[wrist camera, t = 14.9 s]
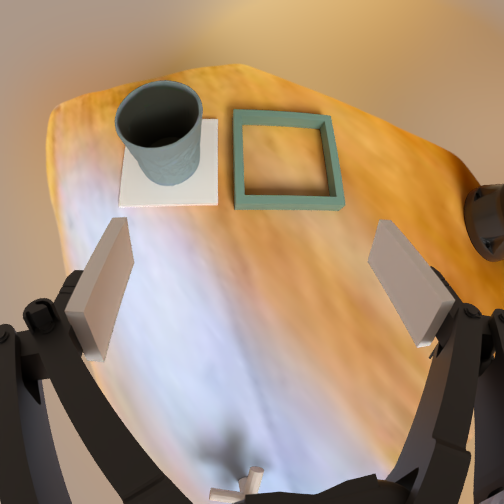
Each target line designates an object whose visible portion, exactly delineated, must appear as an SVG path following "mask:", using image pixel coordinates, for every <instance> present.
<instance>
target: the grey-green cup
mask: <svg viewBox="0 0 504 504" xmlns="http://www.w3.org/2000/svg"><path fill="white" fill-rule="evenodd" d="M202 114H203V107H202V102H201V100H200V98H199V96H198V95H197V93H196V92H195V91H194V90H193V89H191V88H190V87H189V86H187V85H184V84H182V83H179V82H175V81H166V80H164V81H155V82H151V83H148V84H145V85H142V86H140V87H138V88H137V89H135V90H134V91H132V92H131V93H130V94H129V95H128V96H127V97H126V98H125V99H124V100H123V101H122V102H121V104H120V106H119V108H118V110H117V113H116V116H115V128H116V131H117V134H118V136H119V137H120V139H121V140H122V141H123V143H124V144H125V146H126V147H127V148H128V150H129V151H130V153H131V154H132V155H133V156H134V158H135V159H136V160H137V161H138V164H139V166H140V168H141V170H142V171H143V172H144V174H145V175H146V176H147V178H148V179H150V180H151V181H152V182H154V183H156V184H158V185H162V186H174V185H176V184H180V183H182V182H184V181H186V180H187V179H188V178H190V177H191V176H192V175H193V174H194V172H195V171H196V169H197V167H198V165H199V161H200V141H201V140H200V137H201V124H202Z"/></svg>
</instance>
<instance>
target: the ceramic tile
mask: <svg viewBox="0 0 504 504" xmlns="http://www.w3.org/2000/svg"><path fill="white" fill-rule="evenodd" d="M200 140H201V141H200V161H199V165H198V167H197V169H196V171H195V172H194V174H193V175H192V176H191V177H190V178H188V179H187V180H186V181H184V182H182V183H180V184H176V185H174V186H162V185H158V184H156V183H154V182H152V181H151V180H150V179H148V178H147V176H146V175H145V174H144V172H143V171H142V170H141V168H140V166H139V164H138V161H137V160H136V159H135V158H134V156H133V155H132V154H131V153H130V151H129V150H128V148H127V147H126V146H125V153H124V160H123V168H122V177H121V186H120V196H119V207H120V208H129V207H155V206H192V205H218V119H202V124H201V137H200Z"/></svg>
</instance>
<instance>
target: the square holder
mask: <svg viewBox="0 0 504 504" xmlns="http://www.w3.org/2000/svg"><path fill="white" fill-rule="evenodd" d="M232 120H233V169H234V207H235V210H332V211H339V210H340V209H342V208H343V207H344V206H345V198H344V191H343V184H342V178H341V171H340V165H339V159H338V153H337V147H336V142H335V136H334V131H333V126H332V120H331V116H328V115H319V114H309V113H298V112H285V111H268V110H244V109H234V110H233V118H232ZM242 125H267V126H286V127H300V128H313V129H320V132H321V138H322V144H323V151H324V157H325V164H326V171H327V178H328V186H329V193H330V197H326V196H289V195H245V190H244V163H243V136H242Z"/></svg>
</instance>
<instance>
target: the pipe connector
mask: <svg viewBox="0 0 504 504" xmlns="http://www.w3.org/2000/svg"><path fill="white" fill-rule="evenodd" d="M263 473H264V470H263V469H262V468H260V467H250V470H249V474H248V478H247V477H243V478H241V479H240V480H239V482H238V483H239V488H240V492H237V491H229V490H222V489H216V488H211V490H210V496H209V500H213V501H220V502H227V503H235V502H237V501H241V500H244V498H245V495H246V494H257V493H258V490H259V486H260V483H261V480H262V476H263Z"/></svg>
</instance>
